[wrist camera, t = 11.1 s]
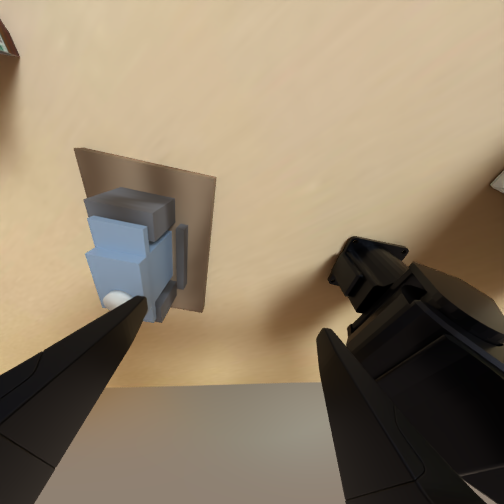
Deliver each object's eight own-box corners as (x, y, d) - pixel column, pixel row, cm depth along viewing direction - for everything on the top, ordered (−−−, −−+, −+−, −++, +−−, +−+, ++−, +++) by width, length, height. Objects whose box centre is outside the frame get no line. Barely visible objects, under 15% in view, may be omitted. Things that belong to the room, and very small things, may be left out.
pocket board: (216, 177, 17) (200, 190, 13) (204, 307, 27) (192, 340, 22) (83, 147, 16) (17, 150, 12) (118, 292, 26) (89, 324, 21)
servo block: (171, 208, 18) (129, 239, 12) (173, 289, 24) (145, 336, 18) (129, 199, 18) (67, 227, 12) (141, 284, 23) (103, 329, 18)
